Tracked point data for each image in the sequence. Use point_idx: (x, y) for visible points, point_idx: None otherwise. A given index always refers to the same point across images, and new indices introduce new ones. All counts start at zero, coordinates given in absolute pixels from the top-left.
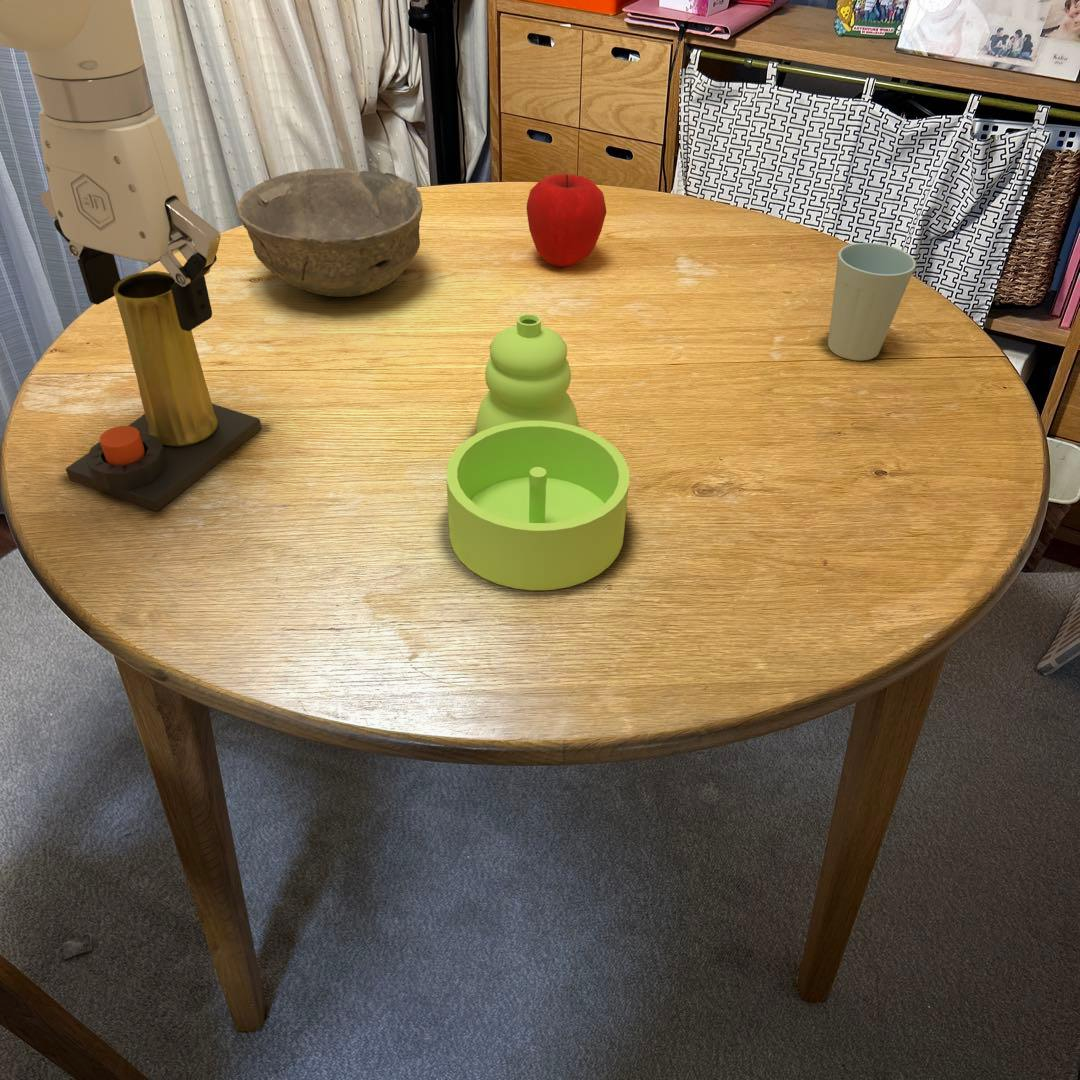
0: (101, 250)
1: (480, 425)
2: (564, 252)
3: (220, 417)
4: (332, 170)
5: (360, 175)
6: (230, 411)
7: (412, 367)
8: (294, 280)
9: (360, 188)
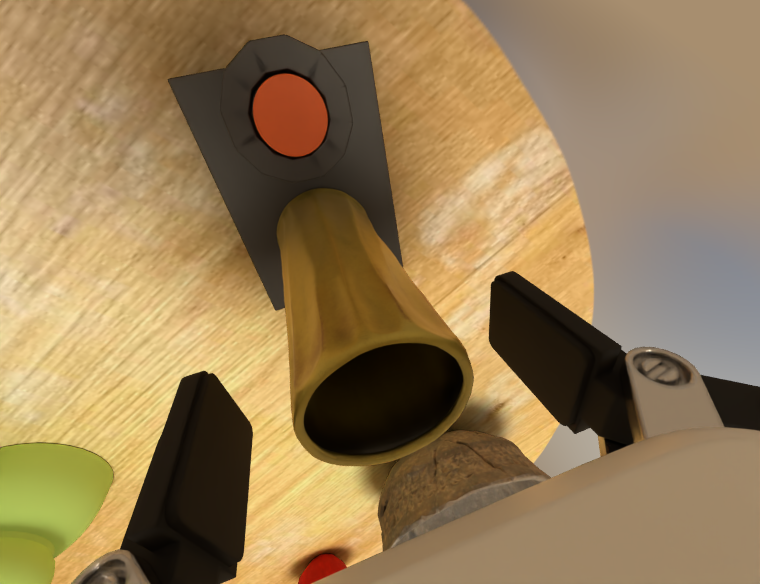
0: (503, 518)
1: (25, 481)
2: (305, 581)
3: None
4: None
5: None
6: None
7: (269, 448)
8: (443, 443)
9: None
